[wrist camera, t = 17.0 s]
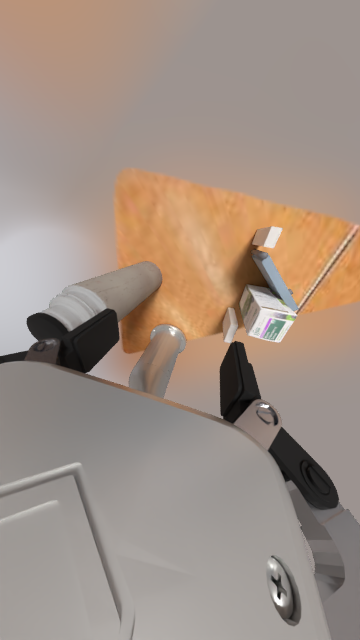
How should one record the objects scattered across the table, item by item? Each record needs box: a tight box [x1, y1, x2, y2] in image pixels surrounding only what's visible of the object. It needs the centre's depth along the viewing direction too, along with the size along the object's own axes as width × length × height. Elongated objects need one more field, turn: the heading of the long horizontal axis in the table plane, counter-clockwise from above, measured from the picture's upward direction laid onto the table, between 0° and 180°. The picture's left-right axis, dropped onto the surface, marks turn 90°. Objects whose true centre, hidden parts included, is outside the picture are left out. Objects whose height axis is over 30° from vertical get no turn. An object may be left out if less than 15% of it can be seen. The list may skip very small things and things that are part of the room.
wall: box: [223, 226, 283, 343], centre depth 31 cm, size 23×2×9 cm, turn 171°
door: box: [251, 249, 298, 311], centre depth 28 cm, size 13×2×9 cm, turn 41°
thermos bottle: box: [27, 261, 162, 341], centre depth 27 cm, size 8×8×28 cm
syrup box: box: [239, 284, 297, 342], centre depth 29 cm, size 6×6×14 cm
